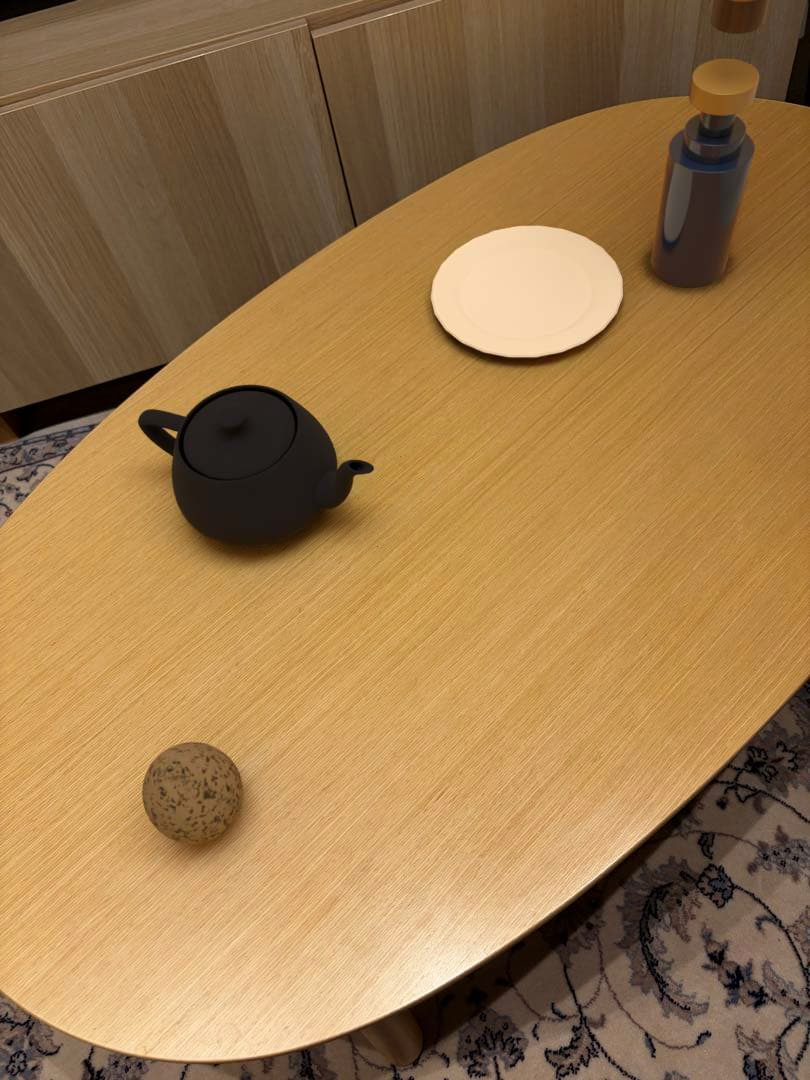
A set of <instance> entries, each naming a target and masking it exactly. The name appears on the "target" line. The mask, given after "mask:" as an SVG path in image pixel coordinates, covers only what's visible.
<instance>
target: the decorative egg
mask: <svg viewBox="0 0 810 1080" xmlns="http://www.w3.org/2000/svg"><path fill="white" fill-rule="evenodd" d="M142 781H143V782H142V789H141V796H142V804H143V808H144V812H145V813H146V815H147V817H148V819H149V821H150V822H151V824H152V825H153V826H154V828H155V829H156V830H157V831H158V832H159V833H161V834H162V835H163V836H165V837H167V838H168V839H169V840H170V839H171V840H173V841H174V842H177V843H181V844H189V845H191V844H193V845H194V844H195V845H197V844H203V843H207V842H209V841H212V840H215V839H217V838H218V837H219V836H221V835H222V834H224V833H225V832H226V831H228V830H229V828H230V827H231V826H232V825H233V824H234V822H235V821H236V819H237V817H238V816H239V813H240V811H241V809H242V804H243V801H244V785H243V784H244V783H243V778H242V776H241V773H240V771H239V769H238V767H237V765H236V763H234V761H233V760H232V759H231V758H230V756H229V755H228V754H226V752H224V751H222V750H221V749H220V748H218V747H215V746H213V745H211V744H208V743H206V742H205V743H204V742H197V741H195V742H194V741H190V742H189V741H188V742H183V743H179V744H174V745H172V746H170V747H168V748H166V749H164V750H163V751H162V752H161V753H160V754H158V755H157V756H156V757H155V758H154V760H152V761H151V763H150V765H149V767H148V768H147V770H146V772H145V774H144V778H143V780H142Z"/></svg>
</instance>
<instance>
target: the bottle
mask: <svg viewBox="0 0 810 1080" xmlns="http://www.w3.org/2000/svg"><path fill="white" fill-rule="evenodd" d="M759 82H760V73H759V71H758V69H757V68H756V67H755V66H754V65H753V64H750V63H748V62H746V61H743V60H740V59H736V58H720V59H719V58H718V59H712V60H708V61H706V62H704V63H702V64H701V65H699V66H698V67H696V68H695V70H694V71H693V73H692V77H691V83H690V89H689V94H688V99H689V102H690V104H691V106H692V107H693V108H695V109H696V110H697V111H700V113H698V114H696V115H694V116H691V118H689V119H688V121H686V123H685V125H684V128H683V129H681V130H680V131H678V132H677V133H675V135H674V136H672V138H671V139H670V141H669V144H668V150H667V155H666V156H667V157H666V162H665V169H664V176H663V181H662V188H661V193H660V200H659V202H660V203H659V208H658V213H657V219H656V227H655V233H654V237H653V238H654V239H653V245H652V252H651V258H650V265H651V269H652V271H653V273H654V274H655V275H656V276H657V277H658V278H659V279H660V280H662V281H663V282H665V283H667V284H669V285H672V286H675V287H678V288H689V289H691V288H699V287H704V286H708V285H710V284H713V283H714V282H716V281H717V280H718V279H720V277H722V275H723V274H724V273H725V271H726V267H727V264H728V260H729V255H730V252H731V247H732V244H733V240H734V236H735V233H736V232H735V230H736V227H737V224H738V219H739V216H740V211H741V209H742V208H741V207H742V203H743V199H744V196H745V195H744V194H745V191H746V187H747V184H748V183H747V182H748V179H749V175H750V171H751V167H752V163H753V159H754V155H755V152H756V151H755V150H756V146H755V143H754V141H753V139H752V138H751V136H750V135H749V134H747V125H746V123H745V122H744V121H743V119H741V118H740V117H738V115H737V114H740V113H742V112H745V111H747V110H748V109H749V108H750V107H751V106H752V105H753V104H754V102H755V100H756V94H757V91H758V86H759Z"/></svg>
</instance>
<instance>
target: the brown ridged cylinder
mask: <svg viewBox="0 0 810 1080" xmlns="http://www.w3.org/2000/svg"><path fill="white" fill-rule="evenodd" d="M769 3H770V0H713V4H712V11H711V16H710V23H711V26H712V27H713V28H714V29H716V30H717V31H719V32H721V33H726V34H731V35H732V34H733V35H742V34H743V35H744V34H748V33H751V32H755V31H757V30H758V29H760V28H761V27H763V25H764V24H765V22H766V18H767V12H768V7H769Z"/></svg>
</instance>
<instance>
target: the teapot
mask: <svg viewBox="0 0 810 1080" xmlns="http://www.w3.org/2000/svg"><path fill="white" fill-rule="evenodd" d="M137 424H138V427H139V429H140V430H141V432H142V433H143V434H144V435H145V436H146V437H147V438H148V439H149V440H150V441H151V442H152V443H153V444H154V445H156V446H157V447H159V448H160V449H161V450H162V451H164V452H165V453H167V454H168V455H170V456H171V457H172V461H171V484H172V490H173V495H174V498H175V502H176V504H177V506H178V508H179V510H180V512H181V514H182V516H183V517H184V518H185V520H186V521H187V522H188V524H189V525H190V526H191V527H192V528H193V529H195V530H196V532H199V533H200V534H201V535H203V536H204V537H206V538H208V539H210V540H212V541H214V542H217V543H220V544H223V545H227V546H233V547H240V548H241V547H242V548H253V547H263V546H267V545H271V544H272V545H273V544H276V543H279V542H281V541H283V540H286V539H288V538H290V537H293V536H294V535H295V534H298V533H299V532H301V531H302V530H304V529H305V528H307V526H309V525H310V524H311V523H312V522H313V521H314V520H315V519H316V518H317V517H319V515H320V514H321V512H322V511H325V510H326V511H327V510H332V509H335V508H337V507H339V506H341V505H342V504H343V503H344V502H345V501H346V500H347V499H348V496H349V495H350V493H351V491H352V489H353V485H354V477H356V476H359V475H368V474H371V473H373V472H374V471H375V467H374V465H373V464H371V463H370V462H368V461H366V460H362V459H348V460H345V461H343V462H342V463H341V464H340V465H339V466H338V457H337V452H336V448H335V446H334V444H333V441H332V439H331V437H330V435H329V433H328V432H327V430H326V429H325V427H324V426H323V424H321V422H320V421H319V420H318V419H317V418H316V417H315V416H314V415H313V414H312V413H311V412H310V411H309V410H308V409H307V408H305V407H304V405H301V404H300V403H299V402H298V401H297V400H295V399H293V398H292V397H291V396H289V395H288V394H286V393H284V392H283V391H281V390H279V389H277V388H274V387H270V386H267V385H261V384H240V385H233V386H230V387H226V388H223V389H220V390H218V391H215V392H214V393H212V394H210V395H208V396H207V397H204V398H203V399H202V400H201V401H199V402H198V403H197V404H196V405H194V407H192V408H191V409H190V411H189V412H188V413H187V414H186V415H182V414H178V413H174V412H170V411H167V410H162V409H157V408H156V409H155V408H149V409H146V410H144V411H142V412H141V413H140V414H139V416H138V418H137ZM167 430H169V431H173V432H177V433H176V435H175V437H174V436H173V435H172V434H171V433H169V432H168V431H167Z"/></svg>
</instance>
